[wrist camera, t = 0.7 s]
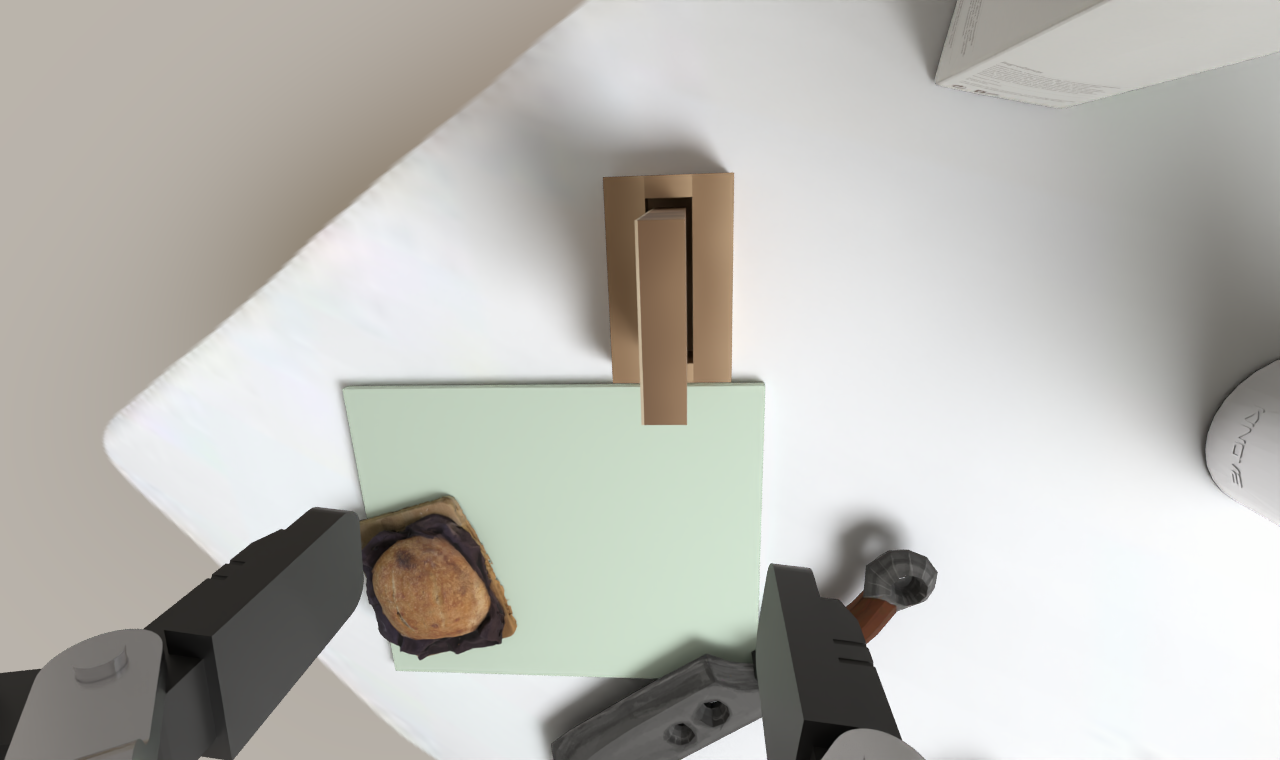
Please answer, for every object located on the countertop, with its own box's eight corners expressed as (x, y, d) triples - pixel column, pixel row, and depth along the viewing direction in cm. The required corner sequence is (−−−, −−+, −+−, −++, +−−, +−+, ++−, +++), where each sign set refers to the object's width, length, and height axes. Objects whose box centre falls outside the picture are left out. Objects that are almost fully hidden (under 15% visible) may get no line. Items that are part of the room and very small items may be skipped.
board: (685, 206, 31) (684, 219, 19) (687, 341, 33) (687, 424, 21) (654, 207, 31) (634, 220, 19) (657, 342, 33) (641, 425, 22)
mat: (764, 382, 34) (765, 385, 33) (755, 674, 40) (756, 681, 39) (347, 385, 36) (342, 389, 35) (399, 664, 42) (395, 670, 41)
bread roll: (342, 521, 38) (306, 555, 34) (463, 488, 37) (439, 520, 33) (411, 657, 41) (385, 701, 37) (527, 631, 39) (510, 675, 36)
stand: (729, 173, 31) (734, 172, 28) (727, 365, 34) (731, 382, 31) (610, 178, 31) (602, 177, 28) (619, 366, 34) (613, 383, 31)
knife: (999, 651, 34) (601, 847, 43) (981, 622, 36) (605, 814, 45) (916, 547, 32) (515, 774, 41) (902, 523, 34) (523, 744, 43)
